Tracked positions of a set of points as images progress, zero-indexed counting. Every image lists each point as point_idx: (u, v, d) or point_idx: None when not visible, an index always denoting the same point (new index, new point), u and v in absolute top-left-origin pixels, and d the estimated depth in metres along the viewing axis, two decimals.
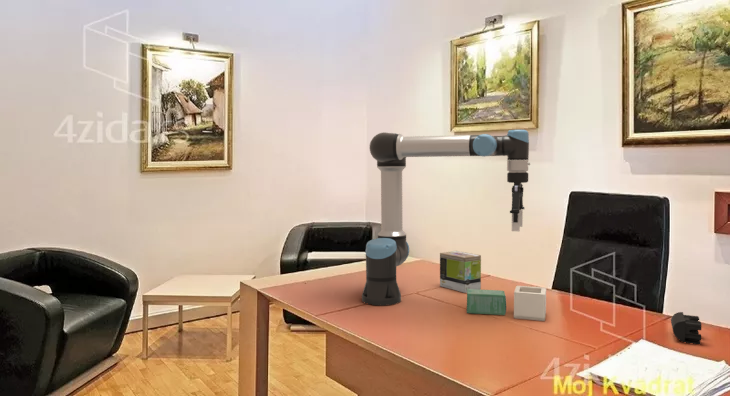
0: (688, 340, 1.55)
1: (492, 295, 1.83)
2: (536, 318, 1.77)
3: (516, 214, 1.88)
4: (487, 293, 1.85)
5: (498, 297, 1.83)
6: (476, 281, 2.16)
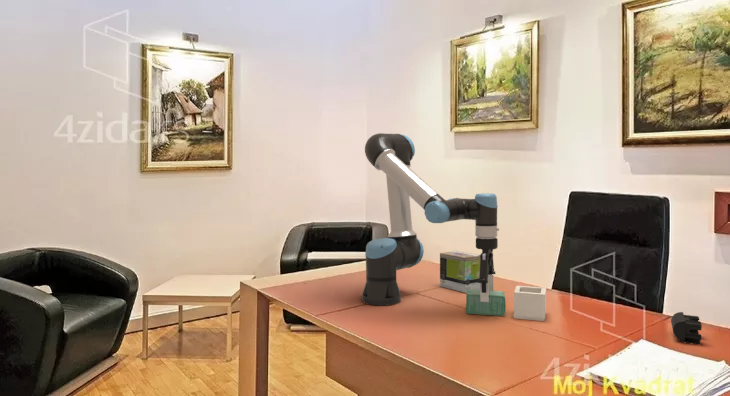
0: (688, 340, 1.55)
1: (491, 296, 1.82)
2: (536, 318, 1.77)
3: (484, 284, 1.79)
4: None
5: (498, 298, 1.82)
6: (476, 281, 2.16)
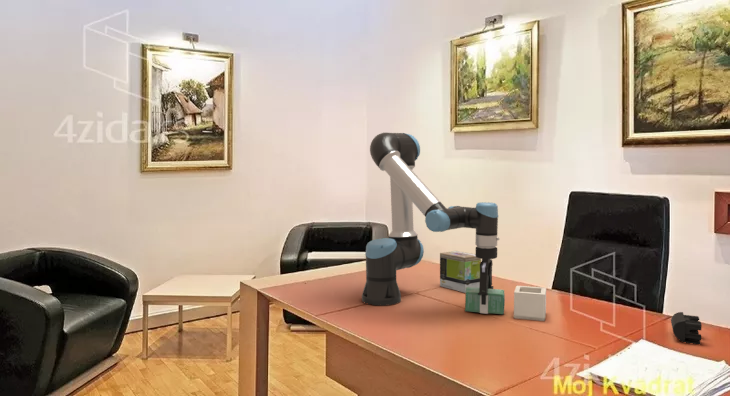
0: (688, 340, 1.55)
1: (490, 294, 1.83)
2: (536, 318, 1.77)
3: (484, 296, 1.82)
4: None
5: (497, 296, 1.83)
6: (476, 281, 2.16)
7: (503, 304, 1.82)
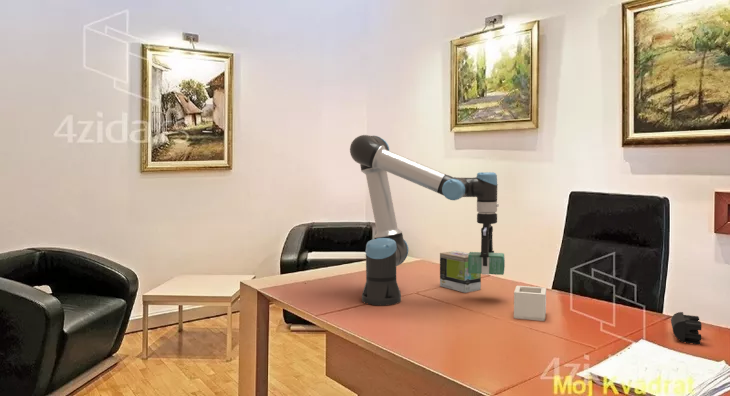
0: (688, 340, 1.55)
1: (491, 256, 1.98)
2: (536, 318, 1.77)
3: (485, 258, 1.96)
4: None
5: (497, 258, 1.97)
6: (476, 281, 2.16)
7: (503, 265, 1.97)
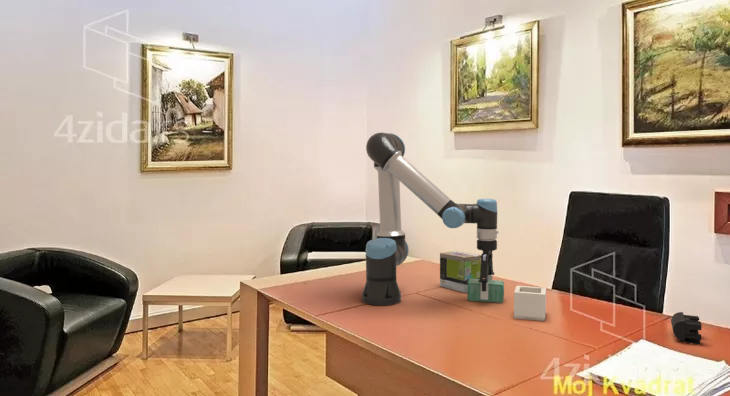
0: (688, 340, 1.55)
1: (491, 284, 1.99)
2: (536, 318, 1.77)
3: (484, 283, 1.95)
4: None
5: (496, 286, 1.98)
6: None
7: (502, 294, 1.98)
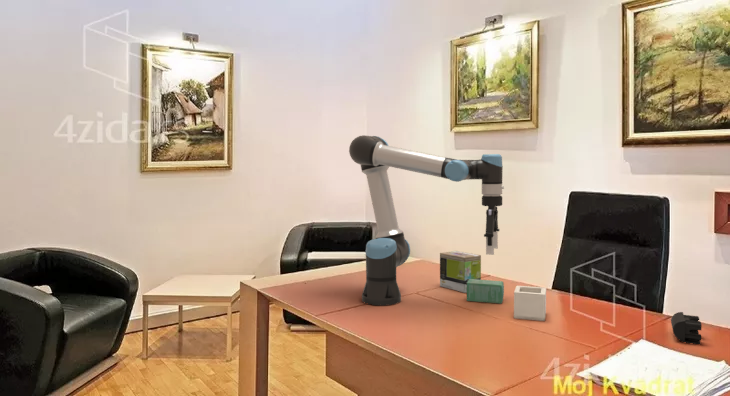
0: (688, 340, 1.55)
1: (490, 285, 1.98)
2: (536, 318, 1.77)
3: (490, 238, 1.91)
4: (485, 283, 2.00)
5: (496, 287, 1.97)
6: None
7: (502, 294, 1.97)
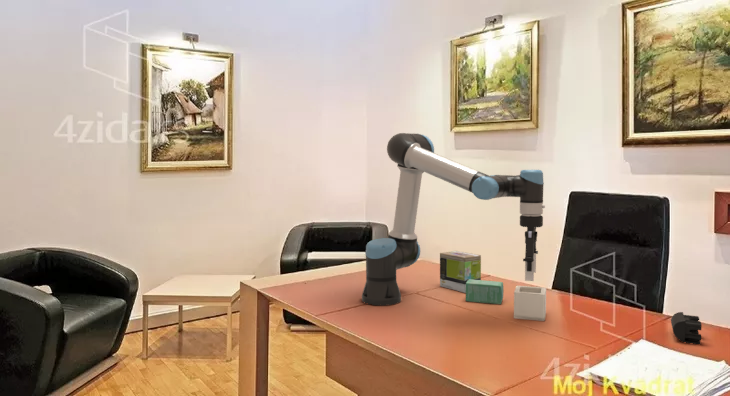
0: (688, 340, 1.55)
1: (489, 285, 1.97)
2: (536, 318, 1.77)
3: (530, 263, 1.73)
4: (485, 283, 1.99)
5: (494, 288, 1.97)
6: None
7: (500, 295, 1.96)
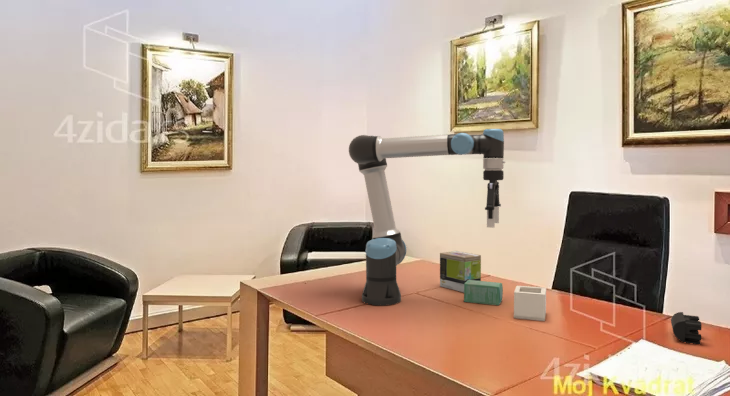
0: (688, 340, 1.55)
1: (487, 286, 1.96)
2: (536, 318, 1.77)
3: (491, 211, 1.94)
4: (483, 284, 1.98)
5: (493, 288, 1.95)
6: None
7: (499, 296, 1.95)
